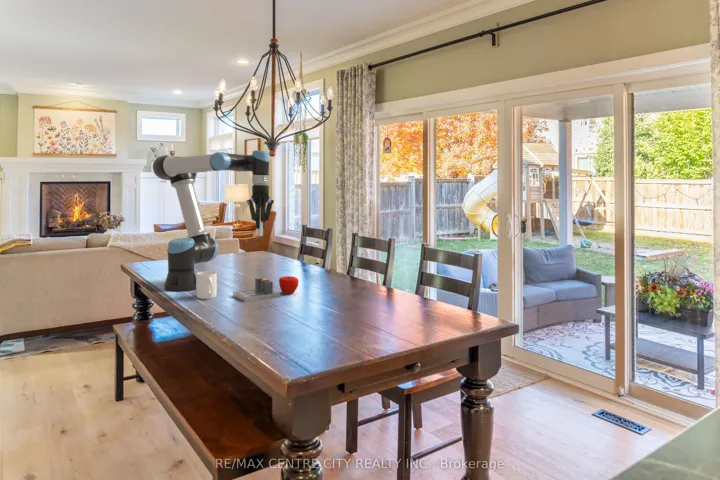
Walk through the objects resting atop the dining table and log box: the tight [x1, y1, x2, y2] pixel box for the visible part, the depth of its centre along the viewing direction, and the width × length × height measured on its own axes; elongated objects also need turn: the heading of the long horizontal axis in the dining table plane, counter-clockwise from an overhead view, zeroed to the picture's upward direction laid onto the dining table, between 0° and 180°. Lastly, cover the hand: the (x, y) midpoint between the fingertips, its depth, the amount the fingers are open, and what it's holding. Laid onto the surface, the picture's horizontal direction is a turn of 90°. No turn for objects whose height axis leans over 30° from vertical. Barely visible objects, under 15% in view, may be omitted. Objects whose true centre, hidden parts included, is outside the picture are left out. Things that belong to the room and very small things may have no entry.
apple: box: [278, 275, 299, 295], centre depth 226 cm, size 9×9×8 cm
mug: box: [195, 271, 218, 300], centre depth 213 cm, size 9×12×11 cm
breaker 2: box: [264, 280, 274, 294], centre depth 216 cm, size 2×3×5 cm, turn 129°
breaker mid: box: [261, 278, 270, 292], centre depth 220 cm, size 2×3×5 cm, turn 129°
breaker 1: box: [254, 277, 264, 290], centre depth 223 cm, size 2×3×5 cm, turn 129°
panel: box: [232, 288, 281, 303], centre depth 218 cm, size 12×17×2 cm
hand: (260, 235), depth 226 cm, fingers closed
